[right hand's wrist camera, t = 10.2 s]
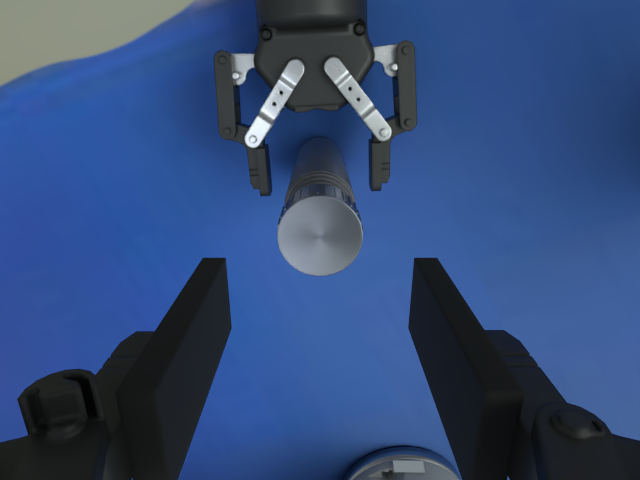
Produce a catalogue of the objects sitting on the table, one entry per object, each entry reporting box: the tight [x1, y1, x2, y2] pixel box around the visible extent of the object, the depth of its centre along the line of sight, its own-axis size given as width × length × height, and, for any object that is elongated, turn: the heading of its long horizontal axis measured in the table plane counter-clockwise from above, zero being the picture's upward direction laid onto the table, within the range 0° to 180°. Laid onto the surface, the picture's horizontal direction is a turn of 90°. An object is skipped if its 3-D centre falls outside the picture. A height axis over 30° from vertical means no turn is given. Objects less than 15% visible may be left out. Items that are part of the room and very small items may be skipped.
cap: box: [277, 184, 363, 276], centre depth 21 cm, size 4×4×2 cm
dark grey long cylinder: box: [285, 137, 355, 205], centre depth 30 cm, size 4×4×20 cm
